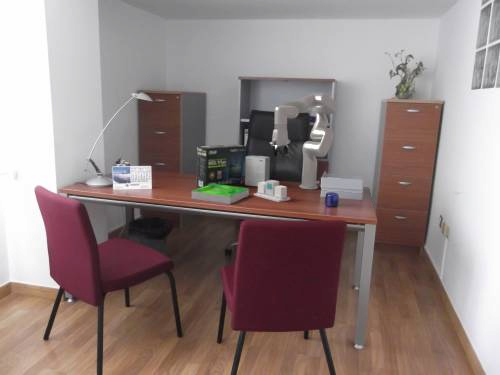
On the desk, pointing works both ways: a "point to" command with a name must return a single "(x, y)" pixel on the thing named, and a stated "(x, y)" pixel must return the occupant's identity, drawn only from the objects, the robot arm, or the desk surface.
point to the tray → (220, 193)
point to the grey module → (271, 187)
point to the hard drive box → (256, 170)
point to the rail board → (278, 196)
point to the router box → (220, 165)
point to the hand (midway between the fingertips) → (280, 155)
